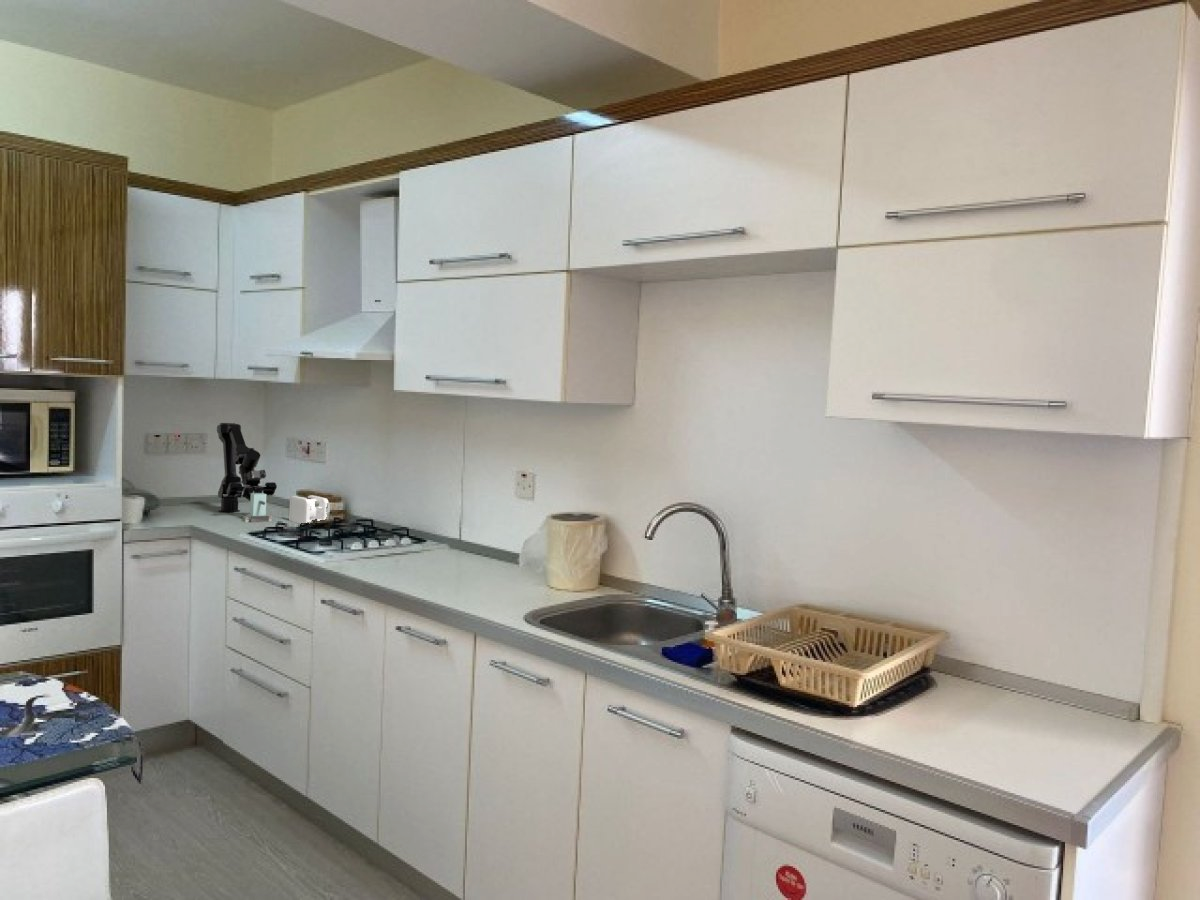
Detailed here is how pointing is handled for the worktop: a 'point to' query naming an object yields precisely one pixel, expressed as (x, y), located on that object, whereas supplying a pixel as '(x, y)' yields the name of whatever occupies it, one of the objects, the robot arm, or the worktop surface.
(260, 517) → the comb rail
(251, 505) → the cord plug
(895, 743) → the worktop surface
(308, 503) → the cable organizer
